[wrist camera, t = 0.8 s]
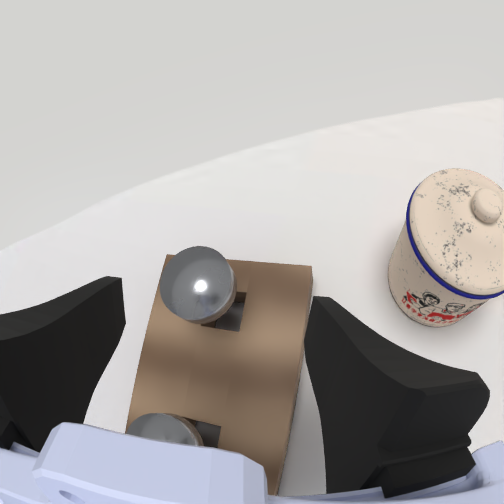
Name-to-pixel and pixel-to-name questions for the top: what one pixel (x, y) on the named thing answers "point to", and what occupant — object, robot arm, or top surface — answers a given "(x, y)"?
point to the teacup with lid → (449, 248)
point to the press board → (233, 364)
